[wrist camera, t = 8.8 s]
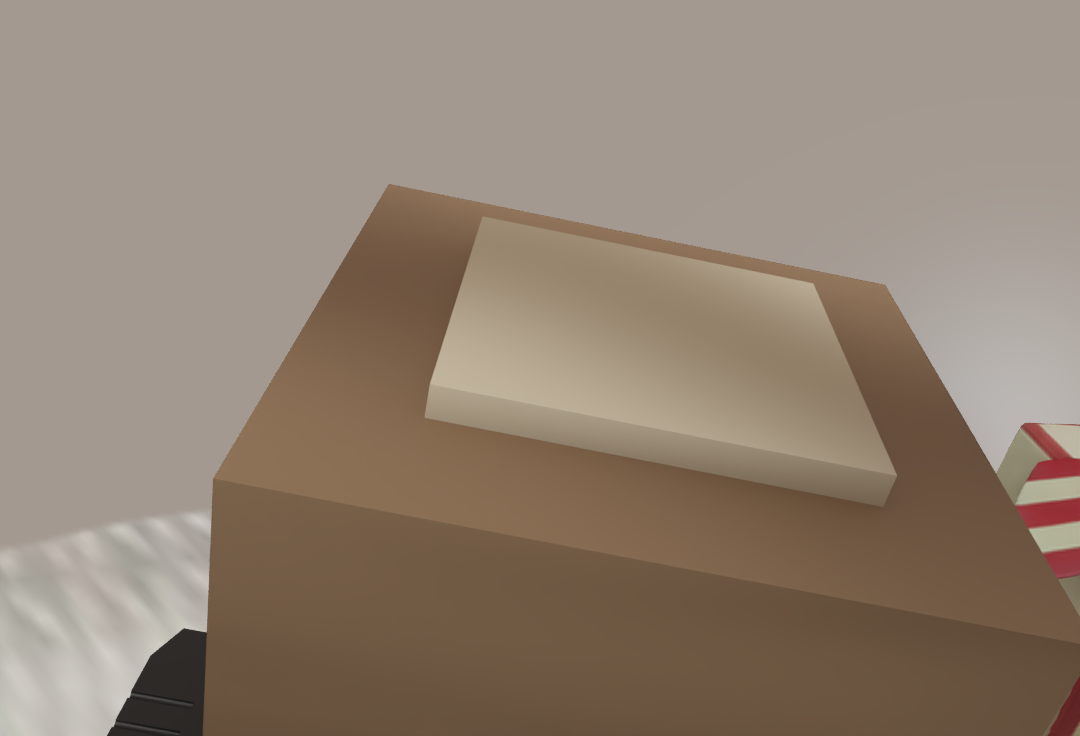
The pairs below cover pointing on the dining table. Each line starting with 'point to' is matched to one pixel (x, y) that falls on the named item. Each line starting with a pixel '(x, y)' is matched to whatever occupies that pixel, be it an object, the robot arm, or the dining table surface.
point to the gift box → (1050, 518)
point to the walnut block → (615, 505)
